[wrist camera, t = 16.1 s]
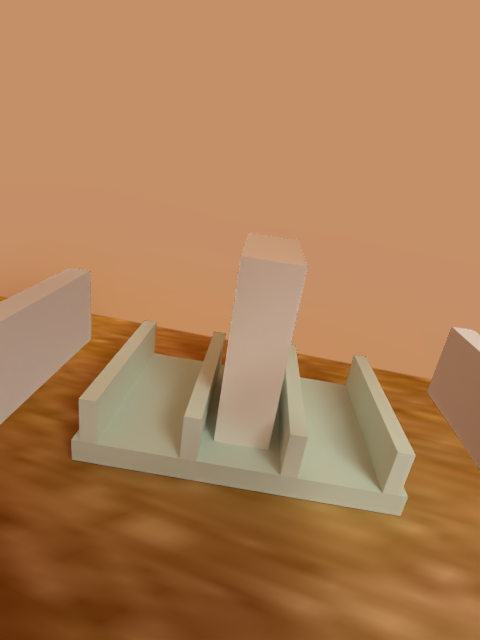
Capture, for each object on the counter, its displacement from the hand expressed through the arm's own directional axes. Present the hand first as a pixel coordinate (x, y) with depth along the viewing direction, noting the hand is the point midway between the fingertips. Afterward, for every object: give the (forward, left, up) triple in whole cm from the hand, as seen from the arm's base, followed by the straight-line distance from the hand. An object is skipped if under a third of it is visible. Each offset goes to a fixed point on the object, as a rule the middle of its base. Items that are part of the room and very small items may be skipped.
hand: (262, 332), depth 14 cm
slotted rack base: (0, -11, -12) cm, 16 cm away
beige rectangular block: (0, -11, -11) cm, 15 cm away
